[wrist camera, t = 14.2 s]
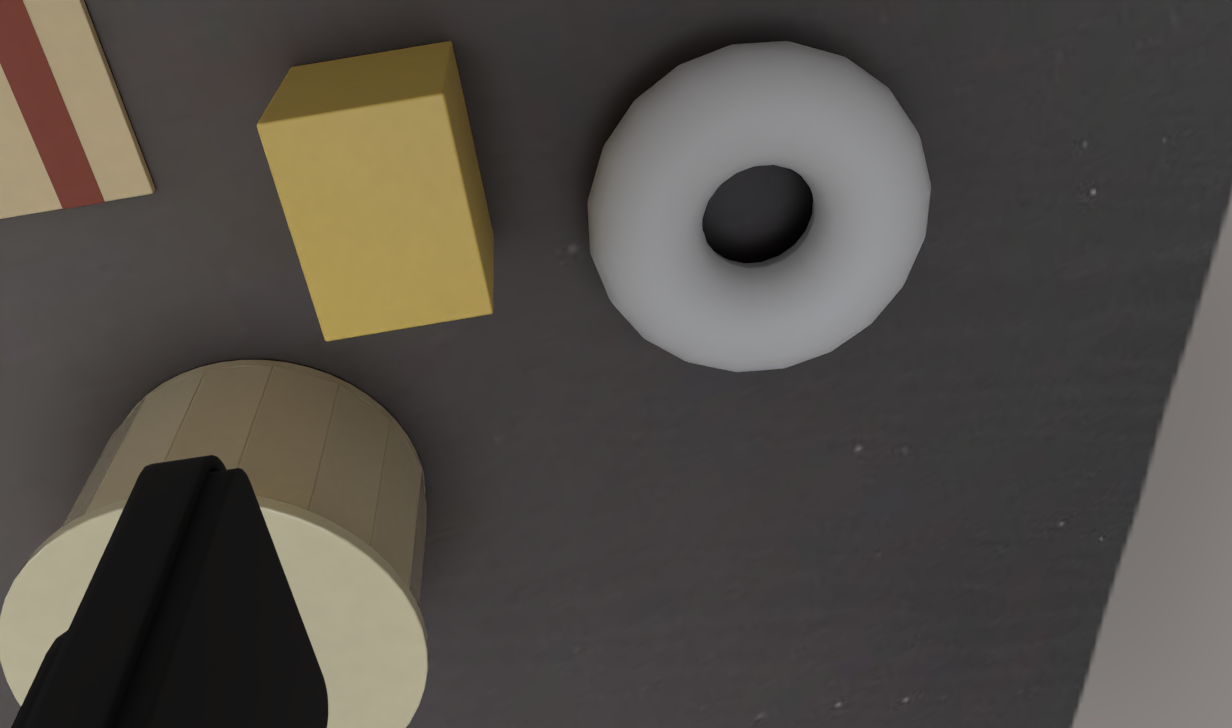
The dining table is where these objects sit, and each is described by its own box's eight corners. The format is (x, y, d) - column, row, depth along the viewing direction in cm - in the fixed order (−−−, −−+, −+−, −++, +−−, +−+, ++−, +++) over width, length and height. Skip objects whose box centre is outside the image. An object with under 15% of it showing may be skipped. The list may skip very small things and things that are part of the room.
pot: (40, 434, 35) (-62, 592, 29) (326, 309, 34) (286, 446, 28) (223, 644, 40) (172, 818, 34) (478, 543, 39) (474, 704, 33)
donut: (672, -33, 30) (530, 277, 34) (692, -8, 27) (534, 328, 31) (970, 109, 33) (806, 380, 37) (1019, 146, 30) (834, 436, 34)
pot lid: (-81, 571, 29) (-172, 704, 25) (297, 410, 28) (263, 525, 24) (172, 816, 35) (130, 957, 31) (496, 694, 33) (496, 824, 30)
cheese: (289, 66, 30) (255, 124, 26) (451, 40, 30) (443, 93, 26) (347, 262, 33) (324, 342, 29) (494, 237, 33) (493, 314, 29)
